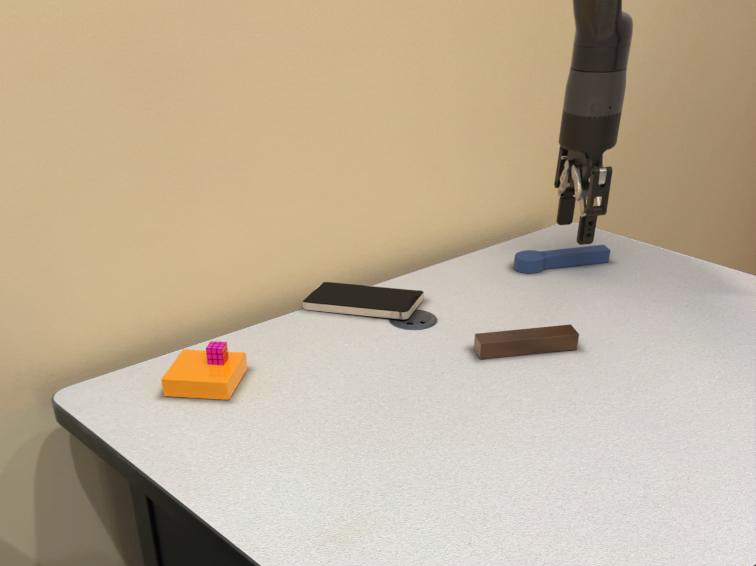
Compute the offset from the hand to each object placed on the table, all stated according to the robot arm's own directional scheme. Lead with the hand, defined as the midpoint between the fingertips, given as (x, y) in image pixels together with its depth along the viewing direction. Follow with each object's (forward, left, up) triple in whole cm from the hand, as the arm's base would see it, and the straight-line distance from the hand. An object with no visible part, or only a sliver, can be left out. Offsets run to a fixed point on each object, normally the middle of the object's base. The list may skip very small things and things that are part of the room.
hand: (573, 233), depth 127 cm
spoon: (+2, 0, -4) cm, 4 cm away
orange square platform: (+54, +27, -4) cm, 60 cm away
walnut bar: (+15, +27, -4) cm, 31 cm away
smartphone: (+32, +8, -4) cm, 33 cm away
